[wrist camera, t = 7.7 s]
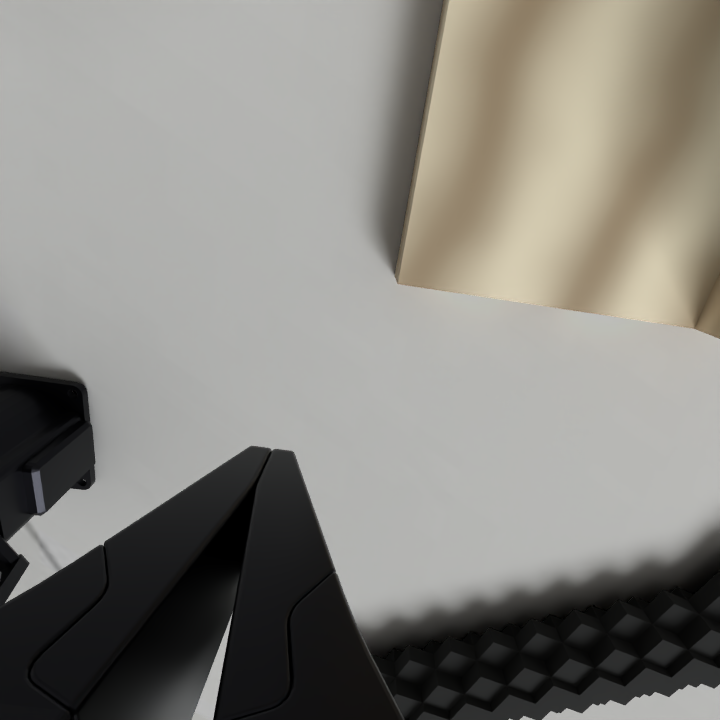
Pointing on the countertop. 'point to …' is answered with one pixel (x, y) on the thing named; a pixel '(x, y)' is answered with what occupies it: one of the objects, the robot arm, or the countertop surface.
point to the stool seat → (572, 158)
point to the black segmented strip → (563, 661)
